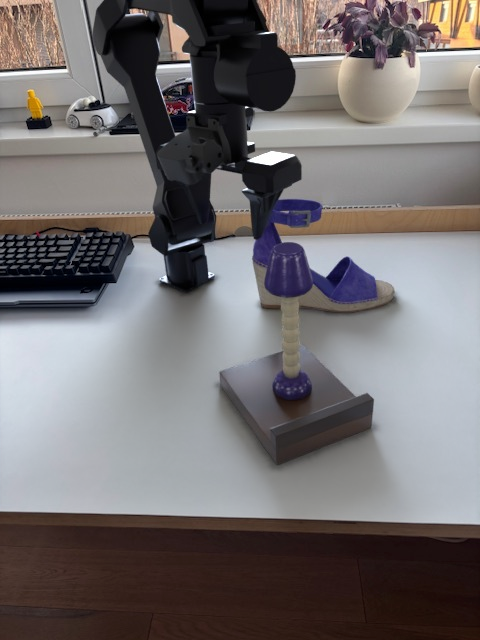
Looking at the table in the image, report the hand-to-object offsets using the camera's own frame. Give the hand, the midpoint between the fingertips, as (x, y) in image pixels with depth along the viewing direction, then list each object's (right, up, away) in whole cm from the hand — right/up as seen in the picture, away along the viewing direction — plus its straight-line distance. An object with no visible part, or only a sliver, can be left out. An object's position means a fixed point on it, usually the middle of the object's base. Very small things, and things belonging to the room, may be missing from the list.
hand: (229, 230), depth 69 cm
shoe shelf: (+7, -21, -9) cm, 24 cm away
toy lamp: (+7, -19, -10) cm, 22 cm away
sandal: (+13, -9, +10) cm, 19 cm away
